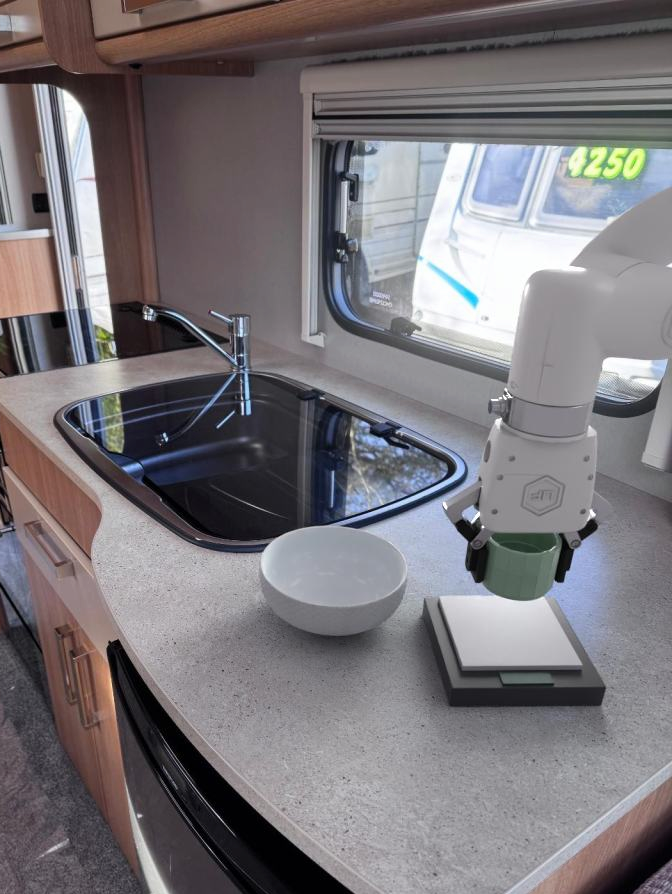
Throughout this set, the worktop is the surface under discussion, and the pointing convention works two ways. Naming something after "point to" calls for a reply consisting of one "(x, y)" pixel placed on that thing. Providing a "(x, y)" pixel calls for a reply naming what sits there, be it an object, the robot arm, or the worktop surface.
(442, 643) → the scale
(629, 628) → the worktop surface
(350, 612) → the cereal bowl
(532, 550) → the small cup
